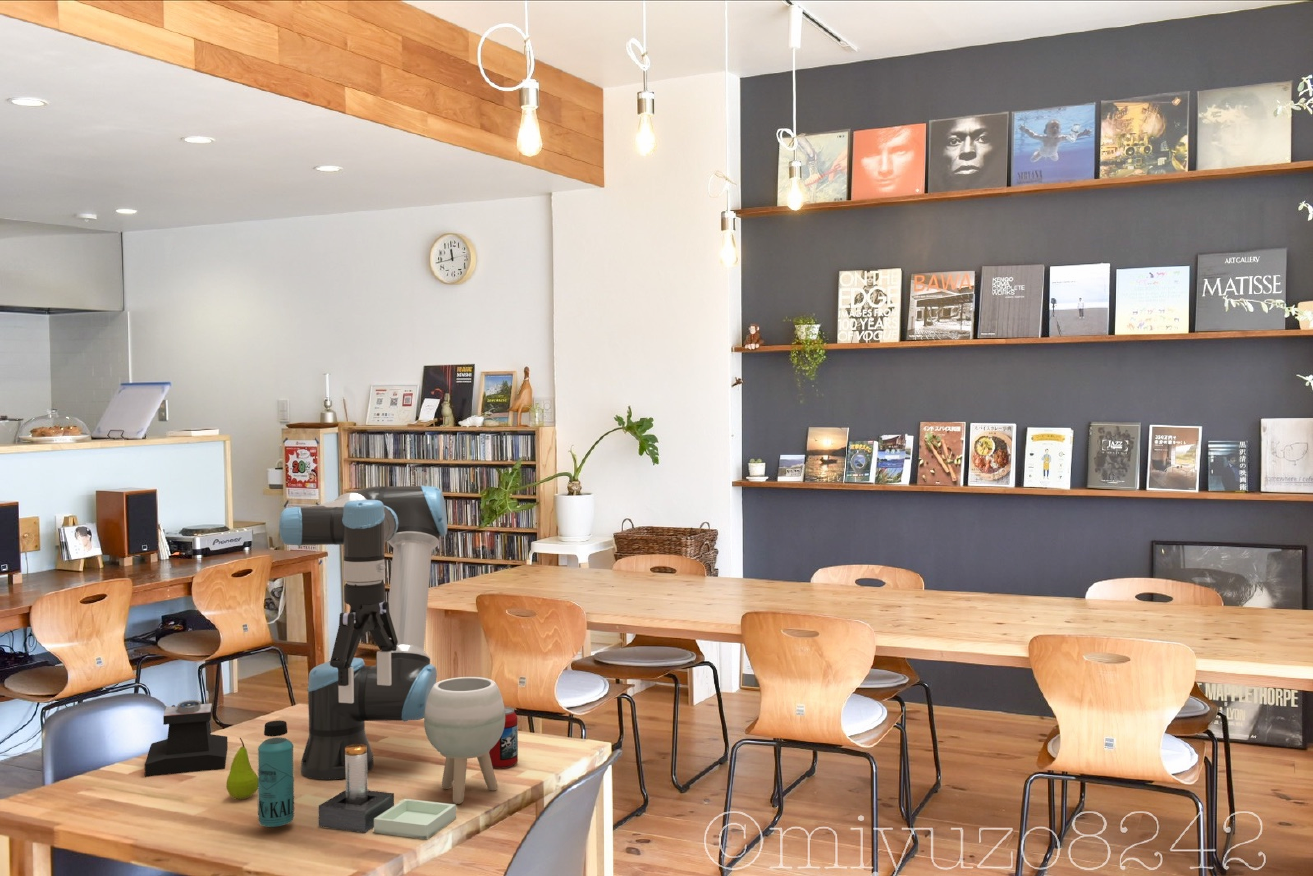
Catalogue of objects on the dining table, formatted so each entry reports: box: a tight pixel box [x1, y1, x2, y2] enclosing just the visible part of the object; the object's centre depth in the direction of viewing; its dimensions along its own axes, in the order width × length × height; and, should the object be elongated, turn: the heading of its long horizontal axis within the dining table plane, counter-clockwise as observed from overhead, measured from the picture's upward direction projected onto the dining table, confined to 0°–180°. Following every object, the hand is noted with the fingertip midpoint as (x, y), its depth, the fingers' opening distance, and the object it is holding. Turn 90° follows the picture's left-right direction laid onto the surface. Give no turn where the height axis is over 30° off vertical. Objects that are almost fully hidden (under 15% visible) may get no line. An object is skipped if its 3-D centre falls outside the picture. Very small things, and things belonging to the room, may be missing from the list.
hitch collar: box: [318, 789, 395, 834], centre depth 211 cm, size 10×10×4 cm
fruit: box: [226, 737, 258, 801], centre depth 224 cm, size 6×6×12 cm
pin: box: [344, 744, 369, 805], centre depth 211 cm, size 4×4×14 cm
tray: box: [373, 798, 457, 841], centre depth 209 cm, size 11×11×3 cm
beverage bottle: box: [257, 719, 295, 828], centre depth 207 cm, size 6×7×20 cm
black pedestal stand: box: [144, 699, 229, 778], centre depth 246 cm, size 16×14×15 cm
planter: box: [423, 676, 505, 805], centre depth 225 cm, size 16×16×22 cm
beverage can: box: [489, 706, 519, 769], centre depth 244 cm, size 7×7×12 cm
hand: (365, 693), depth 212 cm, fingers open, 13 cm apart
